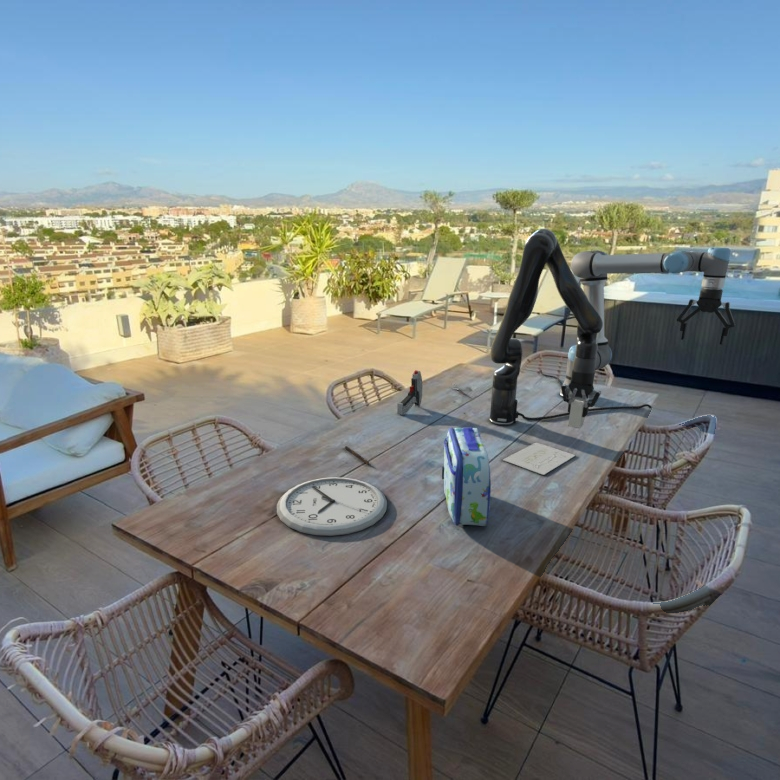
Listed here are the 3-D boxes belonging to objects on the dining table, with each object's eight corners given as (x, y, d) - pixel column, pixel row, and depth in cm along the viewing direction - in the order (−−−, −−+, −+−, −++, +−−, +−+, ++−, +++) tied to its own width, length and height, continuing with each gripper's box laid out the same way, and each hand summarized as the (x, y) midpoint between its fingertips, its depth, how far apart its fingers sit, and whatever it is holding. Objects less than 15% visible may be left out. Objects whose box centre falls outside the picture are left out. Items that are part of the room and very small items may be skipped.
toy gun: (396, 378, 207) (417, 368, 219) (397, 416, 213) (418, 404, 224) (401, 379, 206) (422, 369, 217) (402, 417, 212) (422, 405, 223)
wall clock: (392, 527, 129) (268, 531, 127) (391, 533, 130) (269, 537, 127) (383, 473, 158) (282, 475, 155) (383, 478, 158) (282, 480, 156)
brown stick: (344, 448, 179) (344, 445, 179) (346, 448, 179) (346, 445, 179) (367, 464, 167) (367, 462, 167) (368, 464, 167) (368, 461, 167)
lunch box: (439, 484, 155) (443, 418, 149) (476, 485, 155) (480, 418, 149) (448, 533, 130) (452, 456, 124) (491, 534, 130) (497, 457, 124)
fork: (463, 397, 236) (463, 392, 235) (450, 386, 250) (450, 382, 250) (468, 396, 236) (469, 392, 236) (455, 386, 251) (455, 382, 250)
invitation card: (535, 442, 186) (575, 454, 176) (535, 442, 187) (575, 455, 176) (502, 459, 172) (543, 474, 162) (502, 460, 172) (543, 475, 162)
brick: (568, 426, 189) (571, 403, 186) (572, 422, 193) (575, 399, 190) (579, 428, 187) (582, 405, 184) (583, 424, 190) (586, 401, 188)
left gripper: (560, 368, 184) (554, 413, 189) (601, 375, 176) (594, 422, 182) (566, 363, 190) (561, 408, 195) (607, 370, 182) (600, 416, 187)
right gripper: (674, 286, 209) (665, 338, 215) (749, 291, 195) (736, 347, 201) (678, 285, 215) (669, 335, 221) (750, 290, 200) (738, 344, 207)
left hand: (577, 414), depth 188 cm, fingers closed on brick, 4 cm apart
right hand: (701, 341), depth 211 cm, fingers open, 13 cm apart
